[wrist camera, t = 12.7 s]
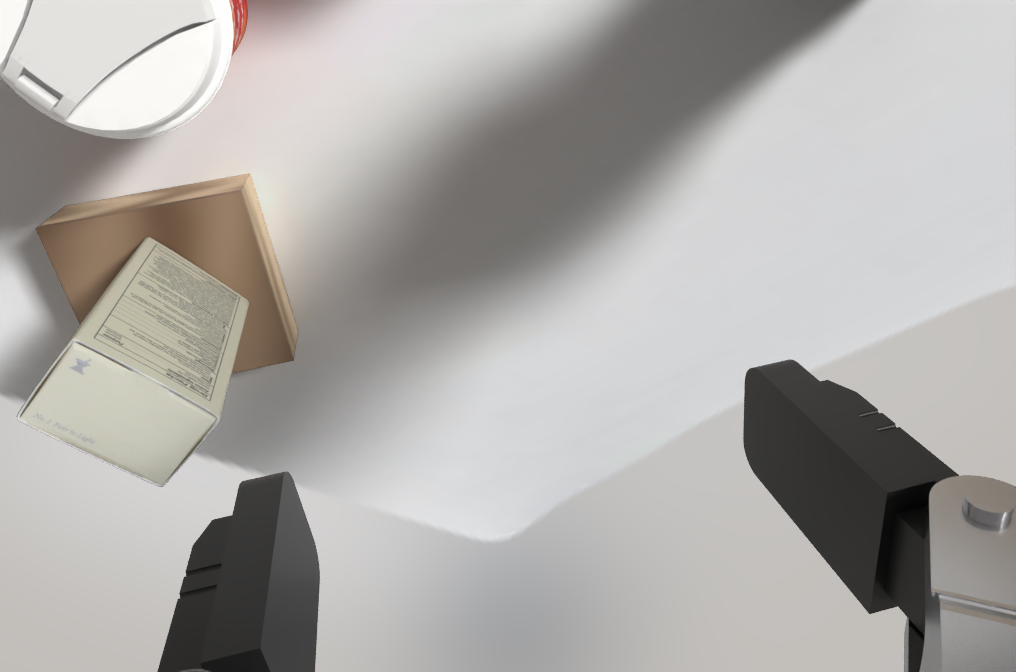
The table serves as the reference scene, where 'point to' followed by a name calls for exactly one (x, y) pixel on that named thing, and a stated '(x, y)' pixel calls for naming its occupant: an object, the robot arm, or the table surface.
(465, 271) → the table surface
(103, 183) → the table surface
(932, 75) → the table surface
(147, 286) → the skincare box
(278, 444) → the table surface
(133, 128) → the coffee cup
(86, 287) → the pedestal
